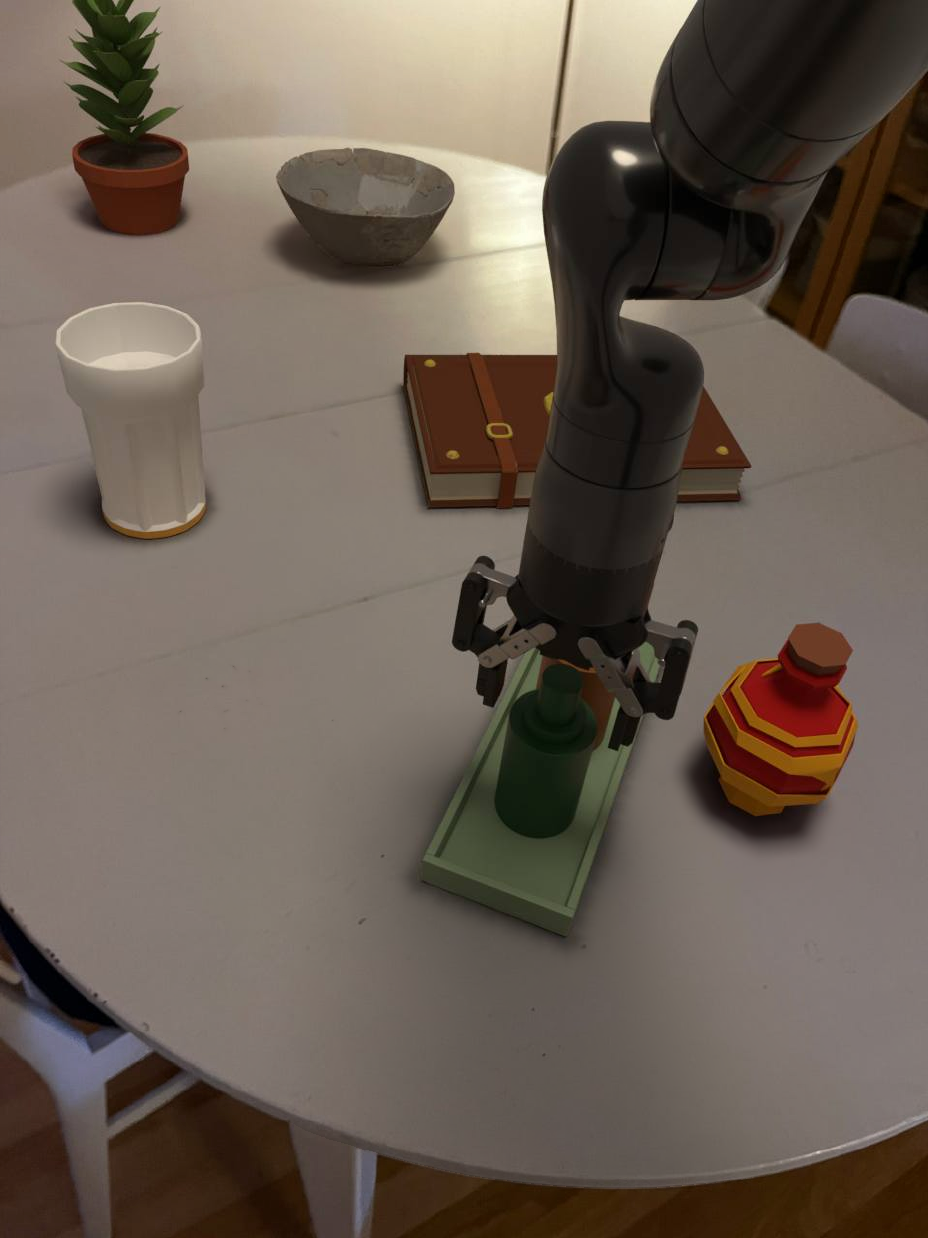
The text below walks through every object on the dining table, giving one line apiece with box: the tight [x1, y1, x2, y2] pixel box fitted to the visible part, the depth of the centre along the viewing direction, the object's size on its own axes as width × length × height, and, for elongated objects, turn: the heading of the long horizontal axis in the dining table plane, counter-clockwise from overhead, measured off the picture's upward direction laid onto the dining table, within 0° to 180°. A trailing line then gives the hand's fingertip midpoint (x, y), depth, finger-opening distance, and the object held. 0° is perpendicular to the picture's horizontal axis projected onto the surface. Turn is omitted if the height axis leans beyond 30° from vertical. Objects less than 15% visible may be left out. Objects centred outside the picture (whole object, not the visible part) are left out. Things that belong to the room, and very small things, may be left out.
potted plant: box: [57, 0, 190, 236], centre depth 128 cm, size 15×15×30 cm
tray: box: [420, 619, 661, 937], centre depth 76 cm, size 29×10×2 cm, turn 159°
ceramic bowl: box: [275, 147, 456, 268], centre depth 132 cm, size 22×23×10 cm
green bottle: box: [494, 663, 598, 838], centre depth 68 cm, size 6×6×13 cm
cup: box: [54, 301, 207, 540], centre depth 87 cm, size 11×11×17 cm
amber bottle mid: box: [536, 656, 616, 750], centre depth 73 cm, size 6×6×13 cm
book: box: [402, 352, 753, 509], centre depth 106 cm, size 23×32×5 cm
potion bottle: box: [702, 622, 859, 817], centre depth 70 cm, size 10×10×15 cm
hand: (553, 719), depth 66 cm, fingers open, 8 cm apart
